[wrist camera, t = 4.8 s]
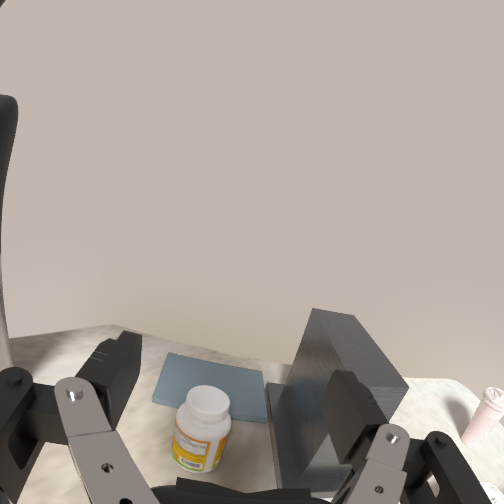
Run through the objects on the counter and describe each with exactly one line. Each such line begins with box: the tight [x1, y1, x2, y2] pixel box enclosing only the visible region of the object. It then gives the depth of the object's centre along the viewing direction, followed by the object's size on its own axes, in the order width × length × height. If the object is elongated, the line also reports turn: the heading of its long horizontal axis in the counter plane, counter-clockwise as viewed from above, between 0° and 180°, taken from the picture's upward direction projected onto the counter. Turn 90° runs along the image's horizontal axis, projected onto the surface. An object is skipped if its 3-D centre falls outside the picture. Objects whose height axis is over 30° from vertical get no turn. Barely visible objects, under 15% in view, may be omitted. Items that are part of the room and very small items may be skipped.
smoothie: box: [461, 387, 504, 447], centre depth 30 cm, size 6×6×14 cm
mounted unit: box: [265, 308, 409, 498], centre depth 31 cm, size 10×20×16 cm, turn 2°
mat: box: [152, 353, 267, 423], centre depth 39 cm, size 15×11×1 cm
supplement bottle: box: [172, 385, 231, 473], centre depth 26 cm, size 5×5×10 cm
